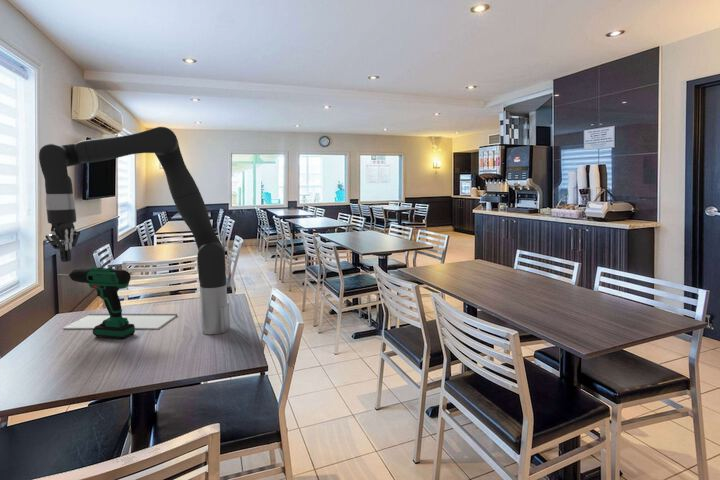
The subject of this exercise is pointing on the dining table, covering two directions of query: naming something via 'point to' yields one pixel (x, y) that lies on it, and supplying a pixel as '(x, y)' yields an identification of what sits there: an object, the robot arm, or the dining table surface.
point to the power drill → (107, 298)
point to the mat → (137, 319)
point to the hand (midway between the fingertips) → (66, 261)
